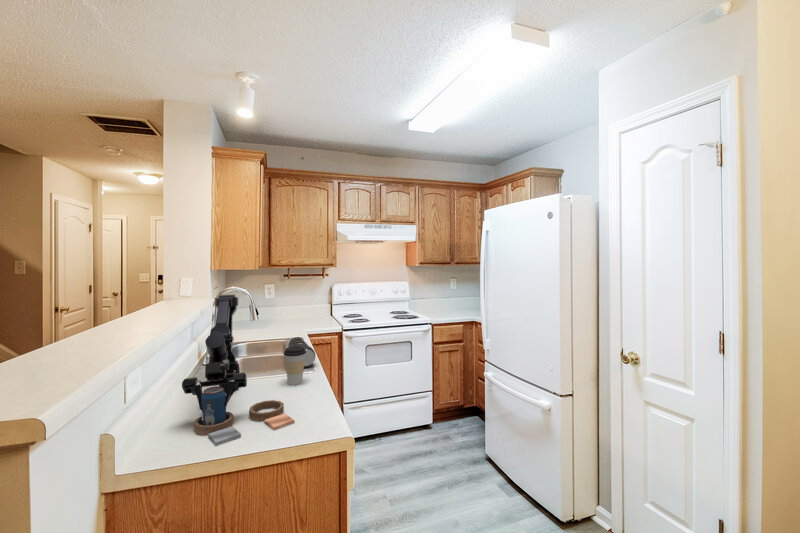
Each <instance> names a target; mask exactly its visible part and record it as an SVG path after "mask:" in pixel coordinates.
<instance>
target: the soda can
mask: <svg viewBox="0 0 800 533" xmlns="http://www.w3.org/2000/svg"><path fill="white" fill-rule="evenodd" d="M201 398H202V410H201V416H202V425H204V426H209V425H216V424H219V423H222V422H224V421H226V412H227V406H226V407H225V398H226V392H225V391H224V388H223V387H219V385H216V386H209V387H206V388H204V390H203V395H202V397H201Z"/></svg>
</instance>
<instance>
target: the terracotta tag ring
mask: <svg viewBox="0 0 800 533" xmlns="http://www.w3.org/2000/svg"><path fill="white" fill-rule="evenodd" d="M284 405H285V404H284V402H283V401H281V400H274V399H272V400H263V401H260V402H256V403H254V404H252V405H251V406H250V407H249V410H248V417H249V419H250V420H252V421H256V422H264V424H265V425H266V426H268V427H269V428H270V429H272V430H273V431H276V430H279V429H282V428H284V427H286V426H289V425H292V424H295V419H294V418H292V417H291V416H289V415H288V414H286V413H284V412H285V411H284V410H285V406H284ZM266 409H268V410H269V409H273V410H271V411H265V412H261V411H262V410H266ZM281 427H282V428H281Z"/></svg>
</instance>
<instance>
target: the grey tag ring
mask: <svg viewBox="0 0 800 533" xmlns="http://www.w3.org/2000/svg"><path fill="white" fill-rule="evenodd" d="M234 416H235V415H234V414H233V412H231V411H226V421H224V422H222V423H219V424H216V425H209V426H204V425H202V415H201V416H200V417H198V418H196V419H195V421H194V422H193V432H194V433H195V434H196V435H200V436H208V437H207V438H208V439H209V440H210V441H211V442H212V443H213V444H214V445H215V446H216V447H217V446H220V445H223V444H225V443H228V442H231V441H234V440H236V439H241V438H242V433H241V432H240V431H238V430H237V429H236V428H235V427H234V426H233V425H234V423H235V419H234V418H235V417H234Z"/></svg>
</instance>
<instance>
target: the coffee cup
mask: <svg viewBox="0 0 800 533" xmlns="http://www.w3.org/2000/svg"><path fill="white" fill-rule="evenodd" d="M305 353H306V350H305V349H304V347H300V346H294V347H288V346H287V347H286V348H285V349H284V351H283V356H284V365H285V366H284V367H285V371H286V372H285V374H286V378H287V379H286V380H287V384H289V385H288V386H298V385H302V383H303V376H304V370H305V366H304V355H305Z"/></svg>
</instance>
